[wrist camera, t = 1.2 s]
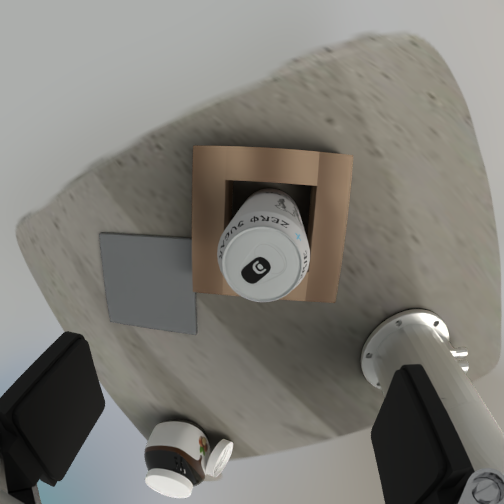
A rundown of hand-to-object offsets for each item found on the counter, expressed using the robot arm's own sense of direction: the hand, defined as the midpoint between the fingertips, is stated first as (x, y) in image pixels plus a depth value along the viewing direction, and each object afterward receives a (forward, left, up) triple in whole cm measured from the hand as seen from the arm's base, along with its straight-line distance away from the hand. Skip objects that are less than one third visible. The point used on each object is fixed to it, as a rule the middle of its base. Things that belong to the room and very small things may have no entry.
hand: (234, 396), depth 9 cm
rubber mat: (+14, +9, -26) cm, 31 cm away
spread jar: (+9, +36, -26) cm, 45 cm away
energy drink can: (0, 0, -26) cm, 26 cm away
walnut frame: (0, 0, -26) cm, 26 cm away
